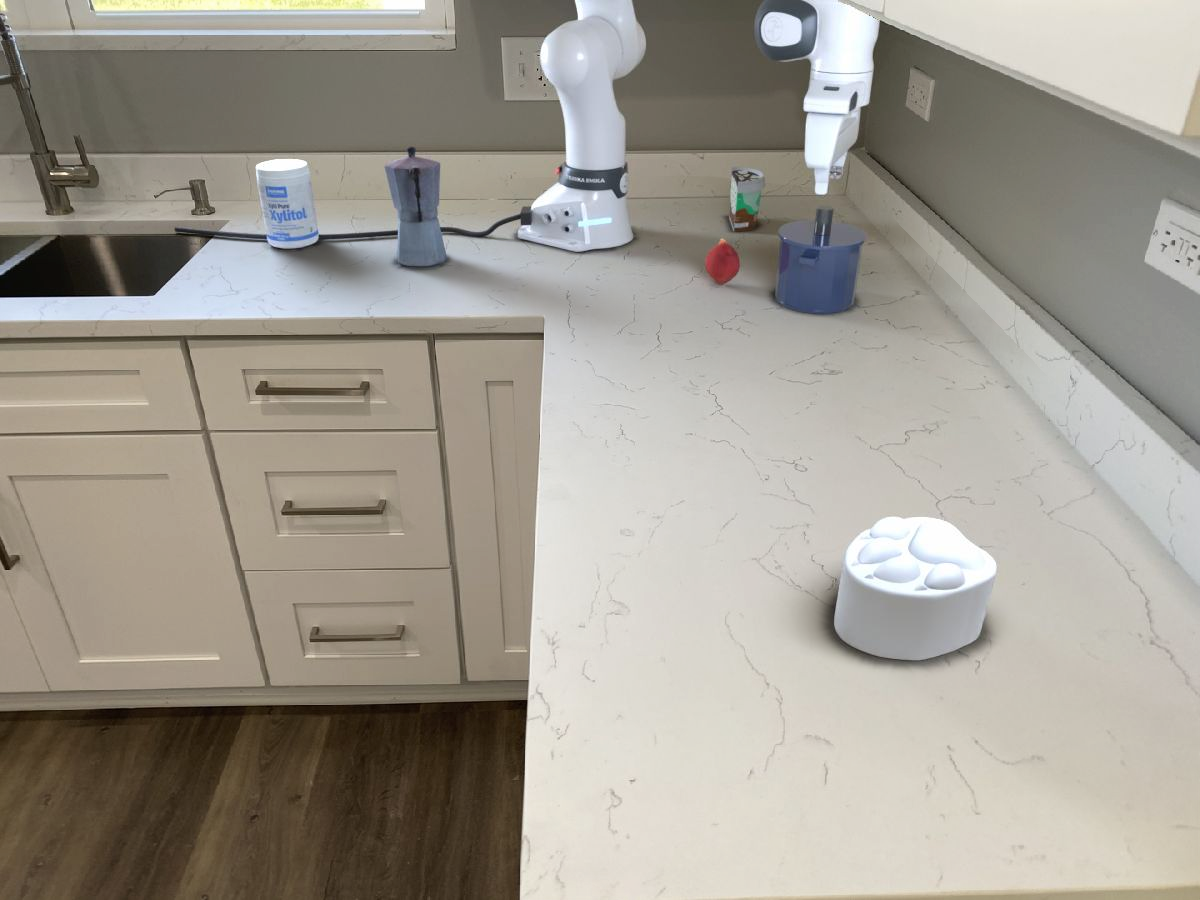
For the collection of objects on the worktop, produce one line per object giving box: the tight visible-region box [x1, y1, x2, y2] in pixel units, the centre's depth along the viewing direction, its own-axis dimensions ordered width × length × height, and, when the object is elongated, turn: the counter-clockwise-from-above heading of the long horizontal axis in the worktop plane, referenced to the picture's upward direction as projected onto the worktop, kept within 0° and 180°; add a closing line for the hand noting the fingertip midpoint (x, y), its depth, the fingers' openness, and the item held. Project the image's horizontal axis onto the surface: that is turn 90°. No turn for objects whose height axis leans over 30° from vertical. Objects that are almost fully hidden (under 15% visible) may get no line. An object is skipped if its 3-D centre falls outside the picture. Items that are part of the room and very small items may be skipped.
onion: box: [704, 237, 741, 286], centre depth 155 cm, size 6×6×8 cm
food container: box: [728, 166, 767, 232], centre depth 183 cm, size 12×6×10 cm, turn 179°
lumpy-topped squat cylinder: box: [833, 516, 998, 661], centre depth 82 cm, size 10×13×9 cm
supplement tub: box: [255, 158, 320, 250], centre depth 174 cm, size 10×10×15 cm
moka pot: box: [384, 146, 447, 267], centre depth 163 cm, size 10×15×20 cm, turn 18°
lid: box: [777, 204, 867, 251], centre depth 145 cm, size 14×14×5 cm
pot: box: [774, 238, 864, 315], centre depth 149 cm, size 13×18×10 cm
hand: (828, 185), depth 142 cm, fingers open, 8 cm apart
